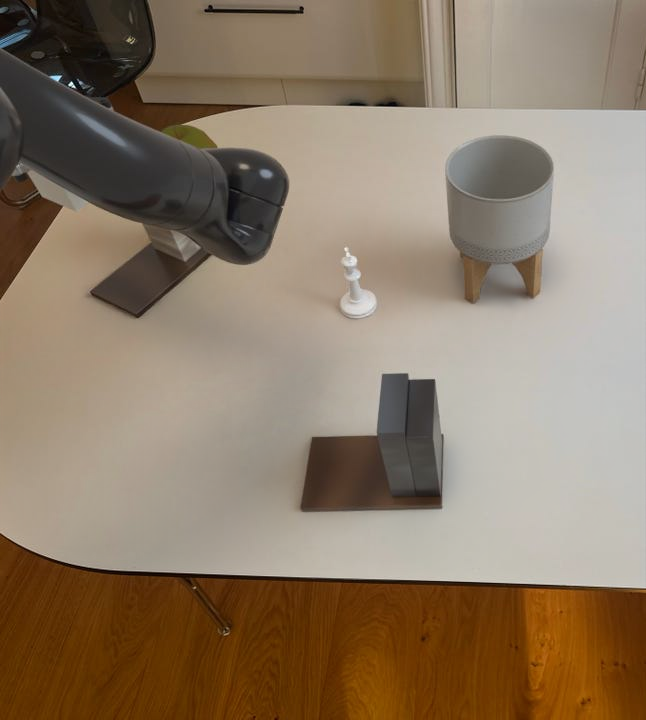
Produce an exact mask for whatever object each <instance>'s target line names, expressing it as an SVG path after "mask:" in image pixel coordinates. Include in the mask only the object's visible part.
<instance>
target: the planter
mask: <svg viewBox="0 0 646 720" xmlns="http://www.w3.org/2000/svg"><path fill="white" fill-rule="evenodd" d="M554 174H555V164H554V161H553V158H552V157H551V155H550V153H548V151H547V150H546V149H545V148H544V147H542V145H540V144H538V143H536V142H534V141H532V140H531V139H526V138H524V137H519V136H514V135H505V134H498V135H497V134H496V135H495V134H493V135H485V136H480V137H477V138H474V139H470V140H468V141H466V142H463V143H462V144H461V145H459V146H458V147H456V148H455V149H453V150H452V152H451V153H450V154H449V155H448V157H447V159H446V162H445V165H444V176H445V185H446V186H445V189H446V201H447V202H446V203H447V216H448V217H447V220H448V232H449V238H450V240H451V242H452V244H453V246H454V247H455V249H456V250H458V251H459V258H460V259H461V260H462V265H463V266H462V267H463V287H464V300H466V301H468V302H470V303H471V304H475V303H476V302H477V301H478V300H479V299H480V294H481V287H482V284H483V281H484V279H485V277H486V274H487V272H488V270H489V269H490V267H491V265H508V264H512V265H513V266H514V267H515V269H516V270H517V272H518V273H519V275H520V277H521V279H522V281H523V284H524V287H525V294H526V296H528V297H530V298H532V299H535V298H536V297H537V296H538V295H539V294H540V293H541V286H542V285H541V283H542V267H543V255H544V254H543V253H544V246H545V245H546V243H547V242H548V240H549V237H550V228H551V216H552V215H551V214H552V203H553V202H552V201H553V189H554V176H555V175H554Z"/></svg>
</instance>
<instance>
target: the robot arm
mask: <svg viewBox="0 0 646 720" xmlns="http://www.w3.org/2000/svg"><path fill="white" fill-rule="evenodd" d="M114 109H115V108H114V107H113V105H112V103H111V101H110V99H109V97H105V96H102V97H100V96H99V97H97V96H85V95H84V94H81V93H80V92H78V91H76V90H75V89H73V88H70V87H69V86H66V85H65V84H63V83H61V82H59V80H56V79H55V78H53V77H51V76H49V75H47V74H45V73H43V72H42V71H40V70H39V69H37V68H35V67H33V66H32V65H30V64H29V63H26V62H24V61H23V60H21V59H20V58H18V57H17V56H15V55H13V54H11V53H9V52H8V51H7V50H4V49H3V48H2V47H0V192H1V191H2V190H3V189H4V187H6V185H7V183H8V182H9V181H10V180H11V178H12V177H13V179H14V181H15V182H17V183H22V182H25V181H26V180H28V178H29V175H28V173H27V172H29V171H30V170H32V171H34V172H36V173H38V174H40V175H42V176H43V177H45V178H47V179H49V180H50V181H52V182H54V183H56V184H57V185H59V186H61V187H63V188H64V189H66V190H68V191H70V192H71V193H73V194H75V195H77V196H78V197H80V198H82V199H84V200H85V201H87V202H89V203H88V204H91V205H93V206H95V207H96V208H98V209H101V210H103V211H105V212H107V213H110V214H112V215H115V216H117V217H120V218H122V219H125V220H129V221H131V222H135V223H138V224H142V223H143V224H148V225H152V226H156V227H161V228H165V229H170V230H174V231H177V232H179V233H182V234H184V235H185V236H187V237H188V238H190V239H191V240H192V241H193V242H195V243H196V244H197V245H198V246H200V247H201V248H202V249H204V250H205V251H207V252H208V253H210V254H212V255H211V256H213V257H215V258H217V259H219V260H221V261H223V262H226V263H228V264H232V265H237V266H248V265H251V264H255V263H257V262H259V261H261V260H262V259H263V258H265V257H266V256H267V254H268V252H269V251H270V249H271V246H272V245H273V240H274V238H275V236H276V235H275V234H276V231H277V229H278V225H279V222H280V219H281V217H282V213H283V210H284V208H283V207H285V204H286V202H287V198H288V195H289V192H290V178H289V175H288V173H287V171H286V169H285V168H284V167H283V165H282V164H281V163H280V162H279V161H278V160H277V159H276V158H274V157H273V156H271V155H270V154H268V153H265V152H263V151H260V150H257V149H256V150H255V149H251V148H247V147H245V148H244V147H218V148H198V147H195V146H193V145H191V144H188V143H186V142H183V141H181V140H179V139H176V138H174V137H172V136H169V135H167V134H164V133H162V132H161V131H160V130H157V129H155V128H152V127H150V126H148V125H146V124H143V123H142V122H141V123H140V122H139V121H137V120H135V119H132V118H130V117H128V116H126V115H124V114H121V113H119V112H117V111H116V110H114Z"/></svg>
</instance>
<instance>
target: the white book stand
mask: <svg viewBox="0 0 646 720" xmlns="http://www.w3.org/2000/svg"><path fill="white" fill-rule="evenodd" d="M141 225H142V227H143V229H144V231H145V232H146V234H147V236H148V238H149V240H150V242H149V243H148V244H147V245H146V246H145V247H143V248H142V249H141V250H140V251H138V252H137V253H136V254H134V255H133V256H132V257H130V259H128V260H127V261H125V262H124V263H123V264H122V265H120V266H119V267H118V268H116V270H114V271H113V272H111V274H109V275H108V276H107V277H105V279H103V280H101V281H100V282H99V283H98V284H96V285H95V286H94V287H93V288H91V289H90V290H89V294H90V295H91V296H92V297H94V298H96V299H98V300H99V301H103V302H105V303H106V304H108V305H110V306H113V307H115V308H116V309H119V310H121V311H123V312H124V313H127V314H129V315H131V316H133V317H135V318H138V319H139V318H140V317H142V316H143V315H144V314H145V313H146V312H147V311H148V310H150V309H151V308H152V307H153V306H155V304H157V303H158V302H159V301H160V300H161V299H162V298H163V297H164V296H166V295H167V294H168V293H169V292H171V291H172V290H173V289H174V288H176V286H178V285H179V284H180V283H182V281H184V280H185V279H186V278H187V277H188V276H189V275H191V273H193V271H195V270H196V269H197V268H198V267H200V266H201V265H202V264H203V263H204V262H205V261H206V260H207V259H209V258H210V257H211V256H213V255H212V254H210V253H208V252H207V251H205V250H204V249H202V248H201V247H200V246H198V245H197V244H196V243H195V242H193V241H192V240H191V239H190V238H188V237H187V236H185V235H184V234H182V233H179V232H177V231H174V230H170V229H165V228H161V227H156V226H152V225H148V224H143V223H141Z"/></svg>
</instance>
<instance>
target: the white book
mask: <svg viewBox="0 0 646 720" xmlns="http://www.w3.org/2000/svg"><path fill="white" fill-rule="evenodd" d="M26 173H27V175H28V178H30V180H31V181H32V183H33V185H34V186H35V188H36V190H37V192H38V193H39V194H40V196H41V197H42V198H43V199H46V200H48V201H51V202H53V203H55V204H57V205H59V206H62V207H65V208H67V209H70V210H72V211H74V212H76V213H77V212H79V211H80V210H82V209H83V208H84V207H86V206H87V205H88V204H90V203H89V202H87V201H85V200H84V199H82V198H80V197H78V196H77V195H75V194H73V193H71V192H70V191H68V190H66V189H64V188H63V187H61V186H59V185H57V184H56V183H54V182H52V181H50V180H49V179H47V178H45V177H43V176H42V175H40V174H38V173H36V172H34V171H32V170H30V171H29V172H26Z"/></svg>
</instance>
